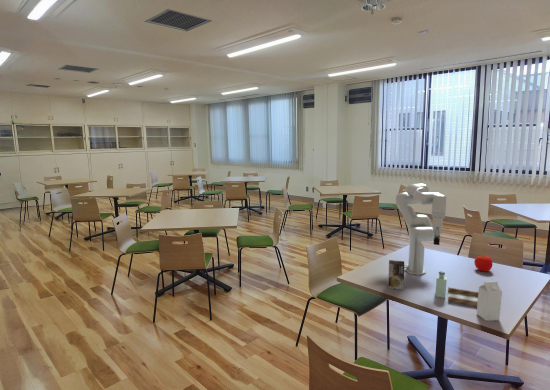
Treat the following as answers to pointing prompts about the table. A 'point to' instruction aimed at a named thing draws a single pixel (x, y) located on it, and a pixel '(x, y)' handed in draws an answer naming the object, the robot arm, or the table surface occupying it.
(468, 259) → the table surface
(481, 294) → the milk carton
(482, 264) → the tomato
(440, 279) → the bottle
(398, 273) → the coffee box
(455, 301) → the brown white flat box
